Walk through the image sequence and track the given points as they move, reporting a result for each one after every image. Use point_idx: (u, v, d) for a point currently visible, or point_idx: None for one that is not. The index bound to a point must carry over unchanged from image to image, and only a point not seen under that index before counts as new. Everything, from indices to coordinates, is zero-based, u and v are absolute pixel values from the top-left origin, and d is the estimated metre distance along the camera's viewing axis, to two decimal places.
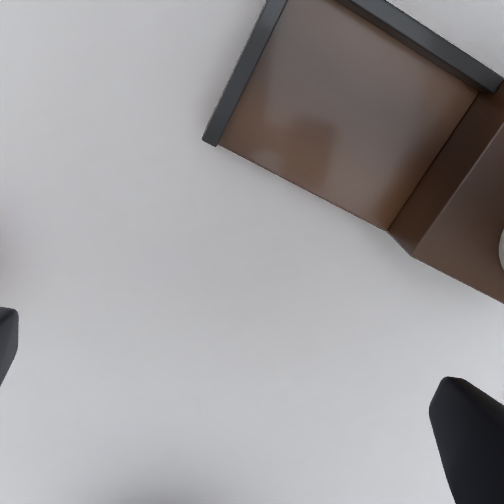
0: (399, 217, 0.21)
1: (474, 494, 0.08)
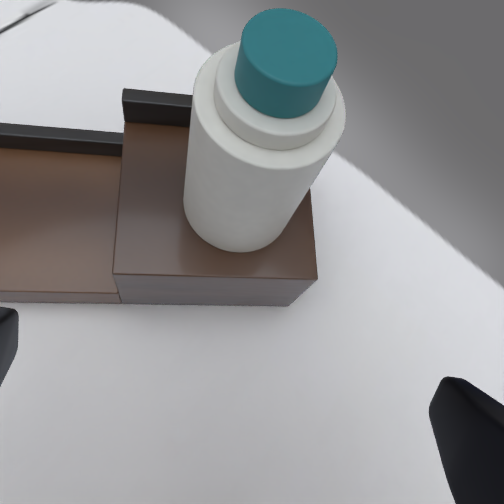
0: None
1: (474, 494, 0.08)
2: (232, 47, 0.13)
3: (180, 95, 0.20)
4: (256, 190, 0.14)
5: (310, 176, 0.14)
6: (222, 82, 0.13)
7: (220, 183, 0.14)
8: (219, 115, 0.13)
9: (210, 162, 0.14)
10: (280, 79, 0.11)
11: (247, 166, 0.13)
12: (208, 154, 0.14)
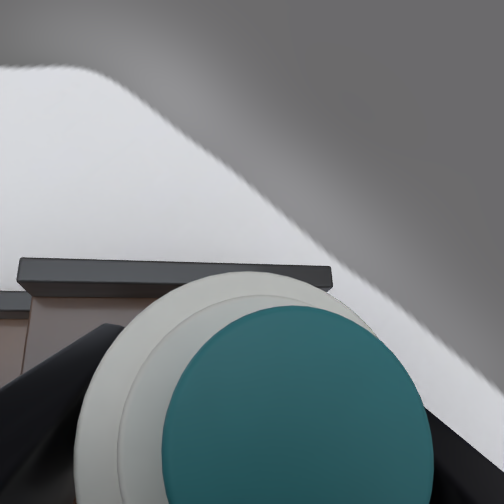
0: None
1: None
2: (162, 347, 0.05)
3: (116, 263, 0.12)
4: None
5: None
6: (132, 461, 0.05)
7: None
8: None
9: None
10: None
11: None
12: None
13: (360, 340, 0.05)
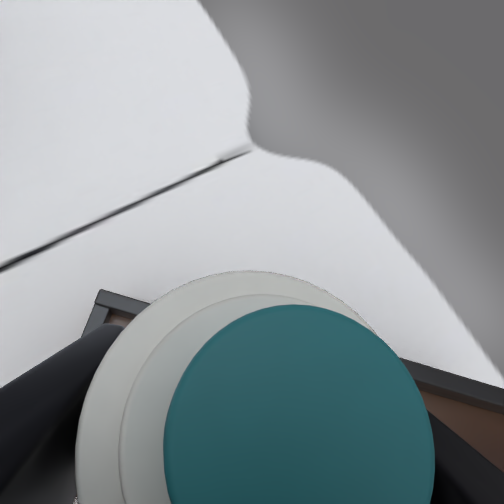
0: None
1: None
2: (164, 346, 0.05)
3: (401, 360, 0.17)
4: None
5: None
6: (133, 460, 0.05)
7: None
8: None
9: None
10: None
11: None
12: None
13: (361, 339, 0.05)
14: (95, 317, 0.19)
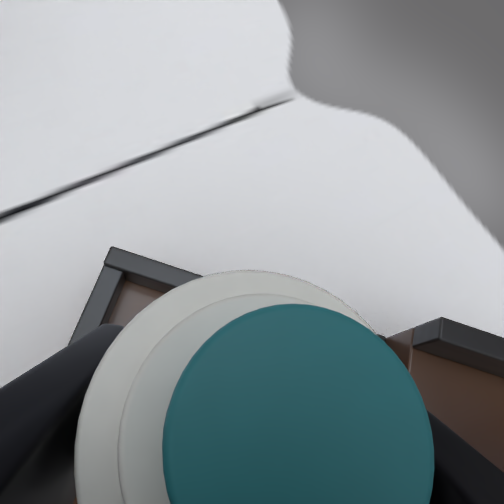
0: None
1: None
2: (163, 345, 0.05)
3: None
4: None
5: None
6: (132, 460, 0.05)
7: None
8: None
9: None
10: None
11: None
12: None
13: (361, 338, 0.05)
14: (104, 282, 0.15)
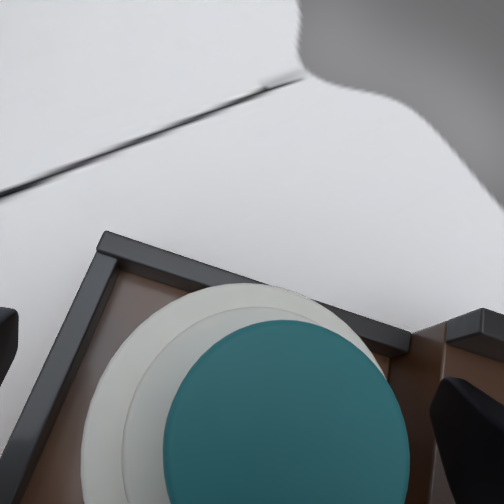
0: None
1: (474, 494, 0.08)
2: (163, 356, 0.06)
3: None
4: None
5: None
6: (135, 462, 0.05)
7: None
8: None
9: None
10: None
11: None
12: None
13: (344, 352, 0.05)
14: (96, 270, 0.13)
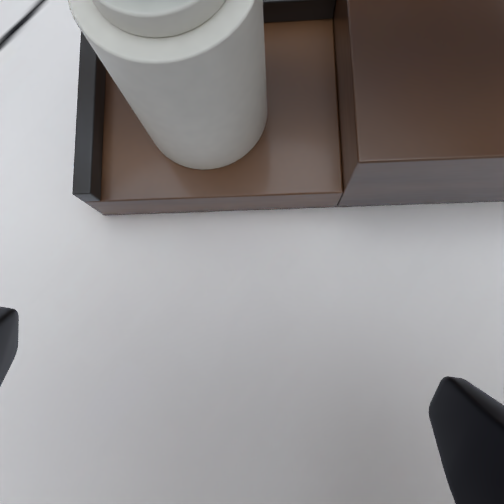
0: (343, 166, 0.17)
1: (474, 494, 0.08)
2: None
3: None
4: (190, 91, 0.12)
5: (245, 47, 0.11)
6: None
7: (151, 99, 0.12)
8: (106, 19, 0.11)
9: (127, 80, 0.12)
10: None
11: (161, 67, 0.11)
12: (119, 72, 0.11)
13: None
14: None
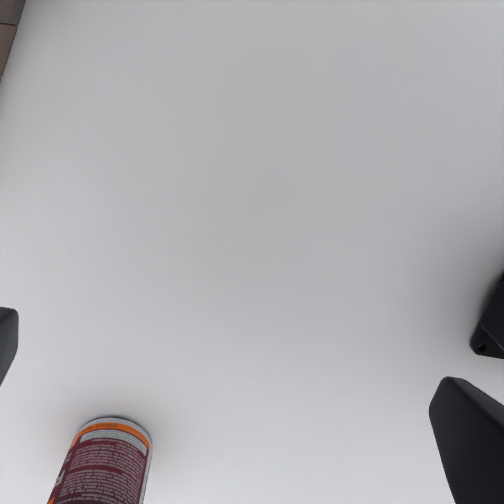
0: None
1: (474, 494, 0.08)
2: None
3: None
4: None
5: None
6: None
7: None
8: None
9: None
10: None
11: None
12: None
13: None
14: None
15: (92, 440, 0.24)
